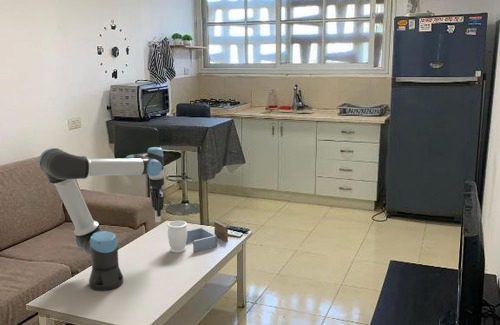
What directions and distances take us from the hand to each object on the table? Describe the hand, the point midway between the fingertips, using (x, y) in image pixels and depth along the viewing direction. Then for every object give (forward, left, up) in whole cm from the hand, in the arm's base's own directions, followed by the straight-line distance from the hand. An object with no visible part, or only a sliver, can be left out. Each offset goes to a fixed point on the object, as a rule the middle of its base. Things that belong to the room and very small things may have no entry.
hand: (158, 221), depth 252 cm
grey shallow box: (+23, 0, -18) cm, 29 cm away
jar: (+11, 0, -19) cm, 21 cm away
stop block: (+39, 0, -18) cm, 43 cm away
